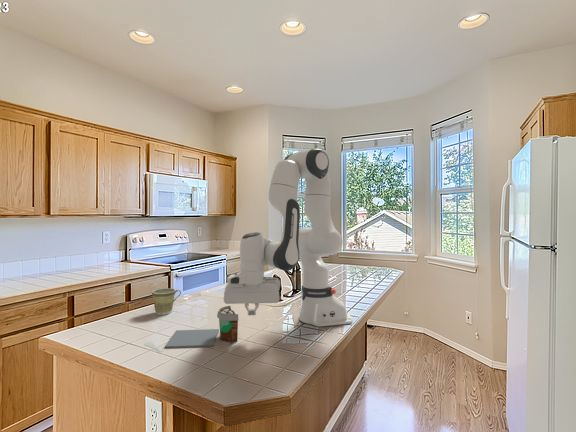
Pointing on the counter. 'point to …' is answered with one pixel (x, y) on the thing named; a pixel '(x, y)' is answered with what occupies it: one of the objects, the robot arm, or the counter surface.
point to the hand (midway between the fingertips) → (251, 314)
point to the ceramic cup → (164, 300)
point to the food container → (228, 324)
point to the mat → (192, 338)
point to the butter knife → (152, 346)
